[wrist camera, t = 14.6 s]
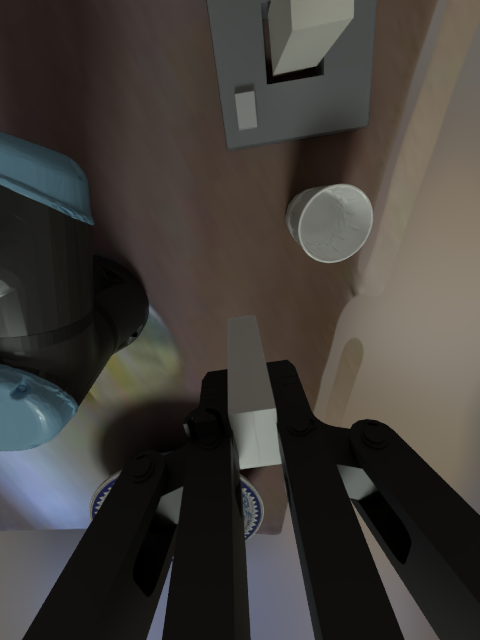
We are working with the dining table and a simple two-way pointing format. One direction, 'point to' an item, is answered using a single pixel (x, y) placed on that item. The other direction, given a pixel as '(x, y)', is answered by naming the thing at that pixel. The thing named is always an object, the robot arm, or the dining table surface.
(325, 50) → the plug
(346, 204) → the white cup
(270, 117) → the socket plate
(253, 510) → the ceramic bowl
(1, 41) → the dining table surface
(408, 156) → the dining table surface
